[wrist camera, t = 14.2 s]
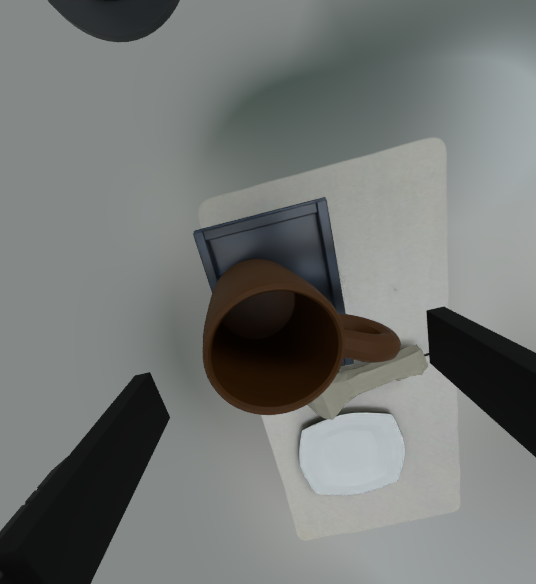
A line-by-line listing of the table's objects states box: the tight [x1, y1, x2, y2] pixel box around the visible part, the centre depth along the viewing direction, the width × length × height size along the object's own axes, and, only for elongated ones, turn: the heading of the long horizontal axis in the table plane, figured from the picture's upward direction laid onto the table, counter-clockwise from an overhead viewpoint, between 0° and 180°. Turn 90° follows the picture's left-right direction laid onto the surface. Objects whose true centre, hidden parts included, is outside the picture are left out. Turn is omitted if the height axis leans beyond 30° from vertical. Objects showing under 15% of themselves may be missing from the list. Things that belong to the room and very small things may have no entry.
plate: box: [299, 412, 405, 495], centre depth 55 cm, size 23×23×2 cm
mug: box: [203, 259, 401, 415], centre depth 17 cm, size 12×8×9 cm, turn 83°
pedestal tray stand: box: [193, 197, 354, 366], centre depth 32 cm, size 15×11×24 cm
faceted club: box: [307, 345, 429, 420], centre depth 47 cm, size 9×8×25 cm
